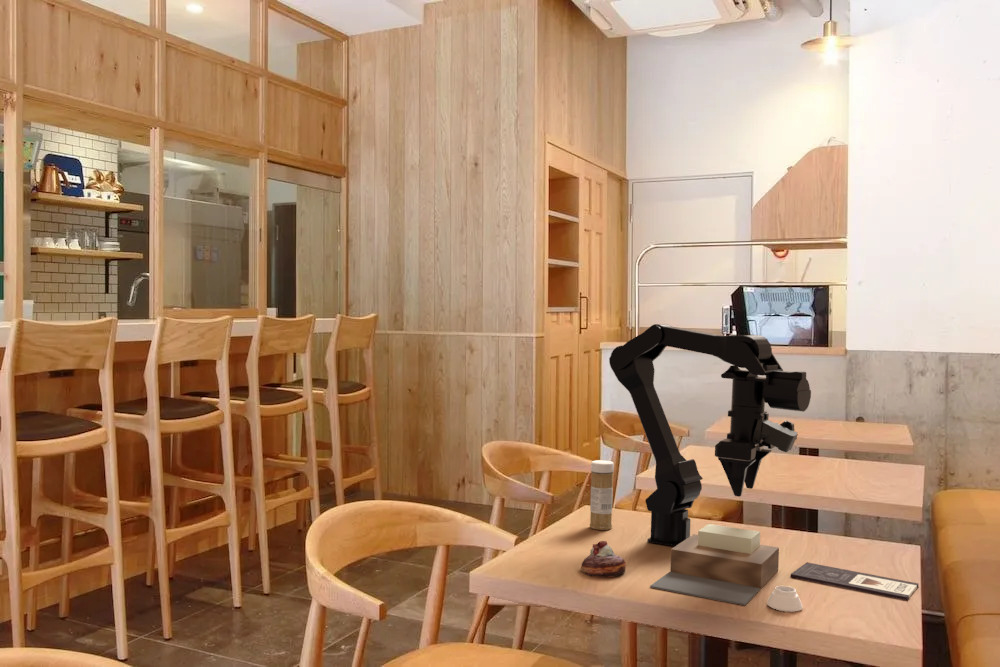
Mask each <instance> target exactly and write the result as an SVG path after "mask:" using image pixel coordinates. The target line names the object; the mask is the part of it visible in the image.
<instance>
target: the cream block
mask: <svg viewBox="0 0 1000 667" xmlns="http://www.w3.org/2000/svg"><path fill="white" fill-rule="evenodd" d="M697 535H698V546H705V547H711V548H717V549H723V550H729V551H735V552H742V553H748V554H751V553H752V552H754V551H755V550H756V549H757V548H758V547H759V546H760V545H761V531H760V530H759V531H758V530H754V529H747V528H746V529H745V528H739V527H732V526H726V525H725V526H724V525H718V524H712V523H711V524H710V523H708V524H706V525H705V526H704V527H702V528H700V529H699V530H698V532H697Z"/></svg>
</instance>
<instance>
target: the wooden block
mask: <svg viewBox="0 0 1000 667" xmlns="http://www.w3.org/2000/svg"><path fill="white" fill-rule="evenodd" d="M779 555H780V547H777V546H773V545H766V544H765V545H764V544H760V546H759V547H758V548H757V549H756V550H755V551H754V552H752V553H751V554H748V553H742V552H735V551H729V550H723V549H717V548H711V547H705V546H698V534H695V533H693V534H691V535H690V537H689V538H687V539H686V540H684V541H683V542H681V543H680V544H678V545H677V546H673V547H672V548H671V549H670V571H669V572H674V573H679V574H685V575H690V576H696V577H702V578H707V579H713V580H718V581H724V582H729V583H735V584H740V585H746V586H751V587H757V588H760V590H762V589H763V587H764V586H766V584H767V583H769V581H770V580H771V579H772V577H774V576H775V575H776V574H775V573H778V571H779V563H780V562H779V558H780V556H779ZM773 575H774V576H773Z"/></svg>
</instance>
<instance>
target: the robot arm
mask: <svg viewBox="0 0 1000 667" xmlns="http://www.w3.org/2000/svg"><path fill="white" fill-rule="evenodd" d="M667 347H670V348H674V349H675V348H676V349H680V350H685V351H690V352H695V353H701V354H706V355H710V356H713V357H716V358H719V359H720V360H721V361H723V362H725V363H727V364H730V366H729V367H728V369H727V370H726V371H725V372H723V373H721V374H720V377H721V378H722V379H729V380H732V383H731V384H732V385H731V386H732V389H731V407H730V409H729V410H727V417H730V426H729V430H730V431H729V432H728V433H726V438H724V439H722V440H720V441H719V442H717V443H716V444H715V445H714V457H717V459H718V461H719V462H720V464H721V467H722V468H723V470H724V473H725V475H726V477H727V481H728V483H729V485H730V487H731V490H732V493H733V495H734V496H735V497H739V498H740V497H741V496H742V494H743V491H744V485H745V487H746V489H750V490H751V489H754V485H755V482H756V480H757V476H758V471H759V470H760V465H761V463H762V460H763V459H764V458H765V457H767V456H768V455H769V454H770V453H771V452H772V451H773V450H772V449H773V448H777V449H778V450H780V451H781V452H784V453H788V452H789V451H791V450H792V448H793V446H794V444H795V442H796V441H797V440H798V439H797V438H798V435H799V434H798V432H797V431H795V423H793V422H792V421H789V420H788V419H787V420H784V421H783V422H782V423H780V424H779V423H778V422H774V421H771V420H769V417H770V416H769V413H768V411H767V410H765V407H766V406H765V404H767V405H768V407H769V408H771V409H778V410H786V411H795V412H805V411H806V410H808V408H809V405H810V402H811V397H812V390H811V388H810V384H809V380H808V379H807V371H801V370H799V371H787V370H785V371H784V369H783V368H782V366H781V364H780V363H779V362H778V360H777V359H776V357H775V356H774V354H773V351H772V349H773V348H772V344H771V343H770V341H769V340H768V338H766V337H765V336H763V335H760V334H759V335H758V334H757V335H755V334H753V335H752V334H751V335H749V334H748V335H745V334H744V335H721V334H715V333H710V332H706V331H705V332H704V331H699V330H692V329H687V328H683V327H682V328H681V327H678V326H673V325H671V324H665V323H662V324H661V323H659V324H658V323H657V324H656V323H655V324H652V325H651V326H650V327H647V329H646V330H645V331H643V332H642V333H640V334H639V335H637V336H635V337H632V339H630V340H628V341H627V342H625V344H623V345H618V346H616V347H615V348H614V349H613V350H612V351H611V353H610V357H609V358H608V359H609V360H608V361H609V362H608V363H609V366H610V368H611V371H612V372H613V374H614V376H615V377H616V380H617V381H618V382H619V383H620V385H622V386H623V387H624V388H625V389H626V390H627V391H628V393H629V394H630V397H631V399H632V402H633V405H634V408H635V409H636V413H637V415H638V417H639V420H640V423H641V426H642V429H643V431H644V434H645V437H646V439H647V441H648V444H649V446H650V450H651V452H652V455H653V458H654V460H655V472H654V481H655V485H656V489H655V490H654V491H653V492H652V493H651V494H650V495H649V496H647V497H646V498H645V505H646V509H647V511H648V512H651V514H650V516H651V517H650V537H648V538H647V543H652V544H657V545H664V546H668V547H669V546H670V547H675V546H677V545H678V544H680V543H681V542H683V541H684V540H686V539H687V538H689V537H690V536H691V518H689V509H691V508H693V504H694V503H695V500H696V499H698V497H699V496H700V494H701V491H702V489H703V487H702V486H703V485H702V482H701V480H703V479H704V478H703V476H702V475H700V472H699V470H698V467H697V463H696V460H695V459H693V458H692V459H689V460H687V459H686V458H685V457H684V456H683V455H682V454H681V453H680V449H679V447H678V446H677V445H678V444H677V443H676V440H675V437H674V435H673V432H672V429H671V427H670V425H669V422H668V419H667V417H666V414H665V411H664V408H663V406H662V404H661V400H660V399H659V395H658V393H657V390H656V388H655V384H654V382H655V381H654V380H655V366H654V361H655V360H656V359H658V357H660V356H661V355H662V353H663V352H664V350H665V349H666V348H667ZM740 368H741V369H740ZM743 369H746V370H743ZM762 376H765V377H762ZM765 447H767V449H766V448H765Z"/></svg>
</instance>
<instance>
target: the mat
mask: <svg viewBox="0 0 1000 667" xmlns="http://www.w3.org/2000/svg"><path fill="white" fill-rule="evenodd" d="M649 586H650V587H649V588H651V589H656V590H661V591H667V592H672V593H677V594H682V595H687V596H692V597H697V598H702V599H703V598H704V599H707V600H714V601H719V602H723V603H727V604H728V603H730V604H734V605H738V604H739V606H746V605H747V604H748V603H749V602H750V601H752V599H753V598H754V597H755V596H756V595H757V594H758V593H759V592H758V591H760V590H761V589H760V588H757V587H751V586H746V585H740V584H735V583H729V582H724V581H718V580H713V579H707V578H702V577H696V576H690V575H685V574H679V573H674V572H670V571H668V572H667V573H666V574H664V575H663V576H661V577H660V578H659V579H658V580H656V581H655V582H653V583H652V584H650V585H649ZM757 592H758V593H757ZM755 594H756V595H755ZM754 595H755V596H754Z"/></svg>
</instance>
